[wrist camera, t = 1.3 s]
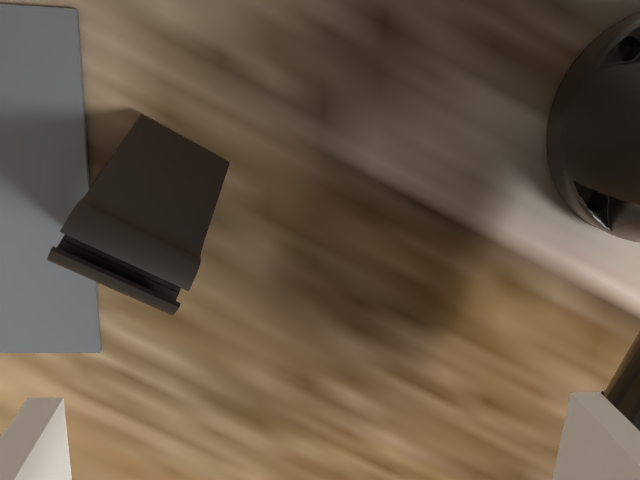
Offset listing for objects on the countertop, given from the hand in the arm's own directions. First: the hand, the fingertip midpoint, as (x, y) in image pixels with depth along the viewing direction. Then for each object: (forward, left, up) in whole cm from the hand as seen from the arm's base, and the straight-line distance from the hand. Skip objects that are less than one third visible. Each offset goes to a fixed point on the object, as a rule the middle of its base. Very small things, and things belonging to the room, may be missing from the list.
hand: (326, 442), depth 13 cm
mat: (+19, 0, -24) cm, 31 cm away
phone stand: (+9, 0, -24) cm, 26 cm away
